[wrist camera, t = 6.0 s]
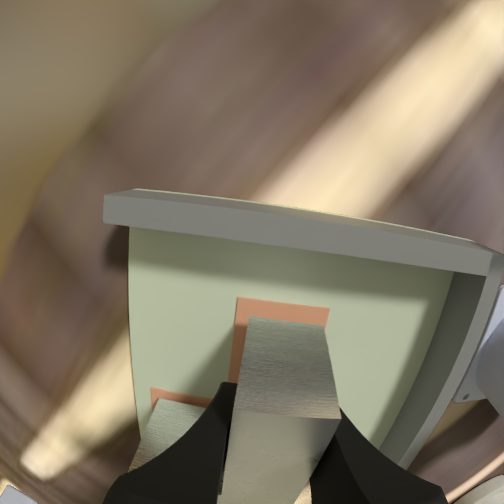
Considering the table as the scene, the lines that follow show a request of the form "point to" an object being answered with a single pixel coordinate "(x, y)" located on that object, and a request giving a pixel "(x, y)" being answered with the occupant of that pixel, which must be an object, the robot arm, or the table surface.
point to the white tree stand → (485, 493)
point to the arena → (303, 304)
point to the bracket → (265, 415)
